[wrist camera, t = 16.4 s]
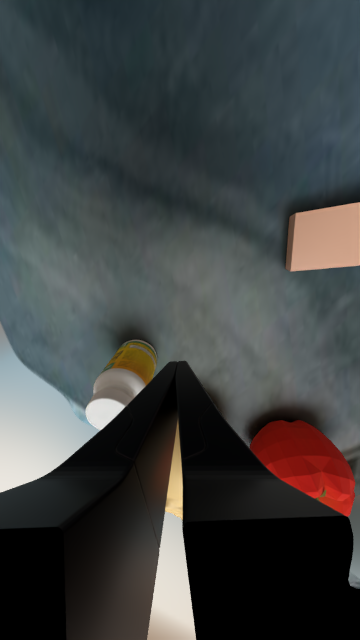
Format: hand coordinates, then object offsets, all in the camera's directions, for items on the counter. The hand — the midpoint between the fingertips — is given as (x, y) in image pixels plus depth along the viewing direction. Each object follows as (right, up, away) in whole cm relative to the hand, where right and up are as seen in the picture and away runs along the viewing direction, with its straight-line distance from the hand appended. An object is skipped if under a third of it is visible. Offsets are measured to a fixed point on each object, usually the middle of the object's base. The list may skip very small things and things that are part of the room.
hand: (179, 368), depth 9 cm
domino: (+11, +10, +9) cm, 17 cm away
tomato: (+16, -16, +19) cm, 30 cm away
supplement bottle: (-6, -2, +15) cm, 16 cm away
